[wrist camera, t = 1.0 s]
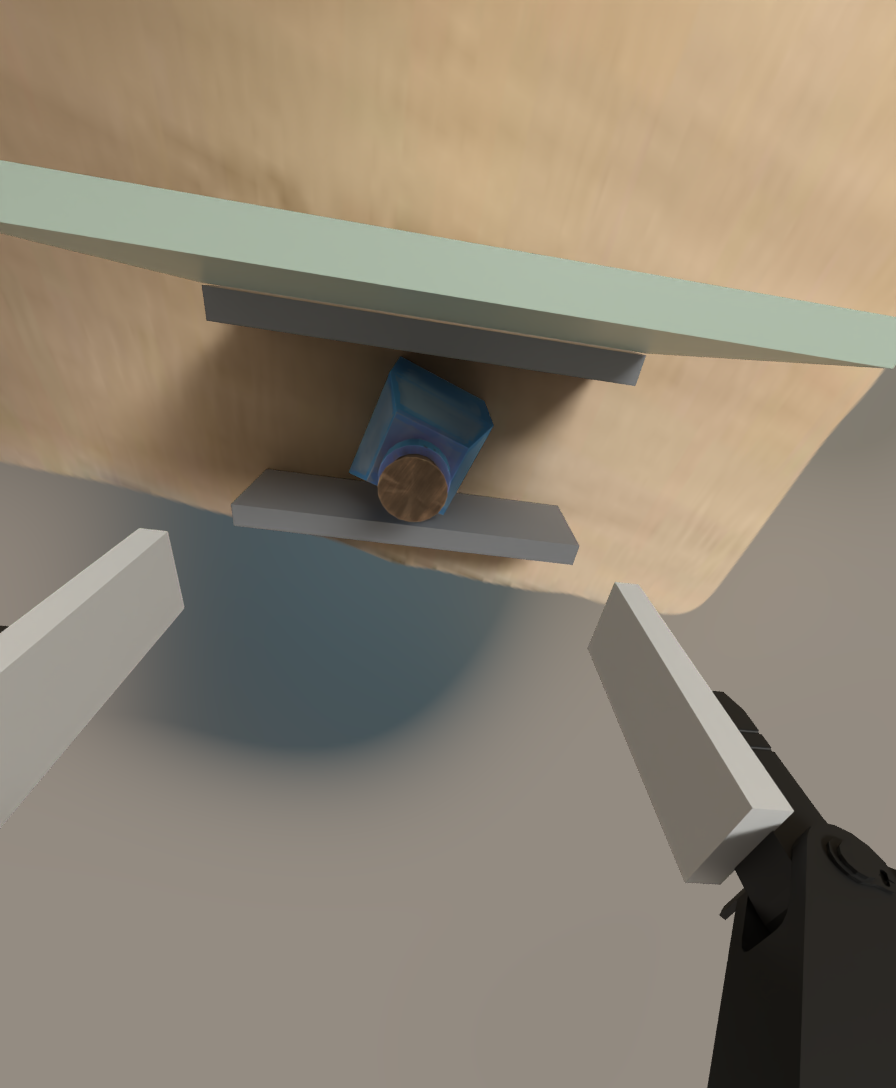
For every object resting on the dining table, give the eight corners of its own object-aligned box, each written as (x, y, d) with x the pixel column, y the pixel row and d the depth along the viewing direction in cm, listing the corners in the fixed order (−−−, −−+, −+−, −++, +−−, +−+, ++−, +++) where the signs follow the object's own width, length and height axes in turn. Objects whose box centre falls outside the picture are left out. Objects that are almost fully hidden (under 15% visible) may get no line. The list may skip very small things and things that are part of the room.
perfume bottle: (443, 477, 31) (443, 567, 21) (365, 440, 30) (324, 518, 20) (484, 401, 29) (507, 461, 18) (400, 356, 27) (374, 394, 17)
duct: (251, 286, 25) (201, 284, 20) (606, 343, 27) (646, 355, 22) (267, 487, 32) (233, 525, 26) (552, 523, 33) (572, 564, 28)
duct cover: (203, 283, 20) (201, 258, 20) (644, 353, 22) (651, 331, 21) (-138, 199, 8) (-162, 132, 8) (892, 369, 10) (919, 321, 9)
